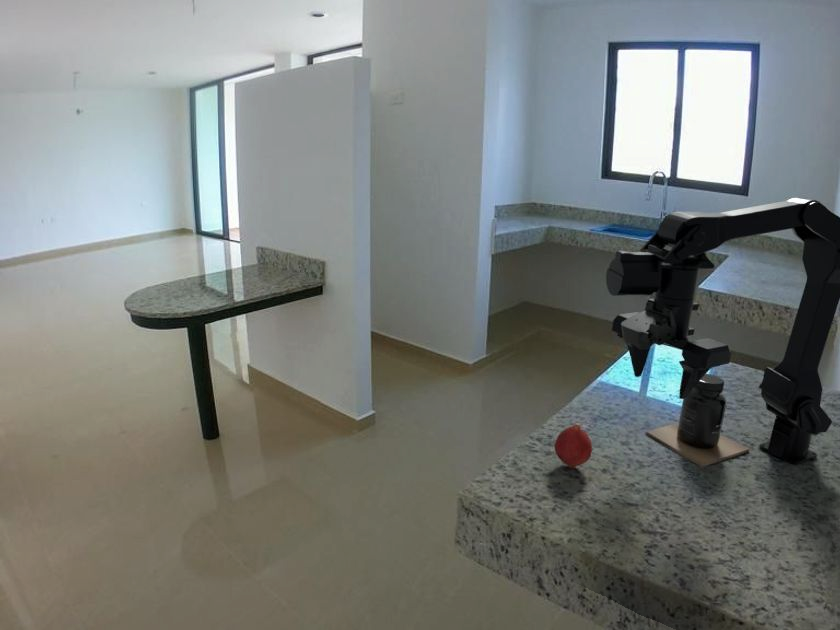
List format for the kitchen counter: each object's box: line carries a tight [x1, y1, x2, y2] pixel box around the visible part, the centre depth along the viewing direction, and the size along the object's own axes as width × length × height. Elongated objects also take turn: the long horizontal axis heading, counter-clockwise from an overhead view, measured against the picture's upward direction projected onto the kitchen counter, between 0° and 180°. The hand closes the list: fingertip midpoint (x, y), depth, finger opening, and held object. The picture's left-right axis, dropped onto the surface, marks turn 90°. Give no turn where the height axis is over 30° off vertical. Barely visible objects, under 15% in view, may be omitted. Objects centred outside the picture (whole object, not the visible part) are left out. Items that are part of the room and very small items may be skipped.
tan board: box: [645, 422, 750, 468], centre depth 102 cm, size 12×12×1 cm
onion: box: [554, 422, 593, 469], centre depth 93 cm, size 6×6×8 cm
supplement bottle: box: [677, 373, 728, 449], centre depth 101 cm, size 7×7×12 cm
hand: (659, 387), depth 94 cm, fingers open, 9 cm apart
